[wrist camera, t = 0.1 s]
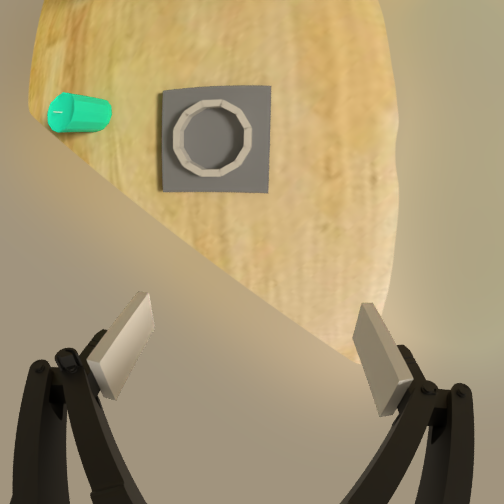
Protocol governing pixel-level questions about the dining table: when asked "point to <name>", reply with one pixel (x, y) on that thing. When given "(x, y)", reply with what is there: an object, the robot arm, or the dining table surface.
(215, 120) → the candle stand
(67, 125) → the candle
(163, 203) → the dining table surface
